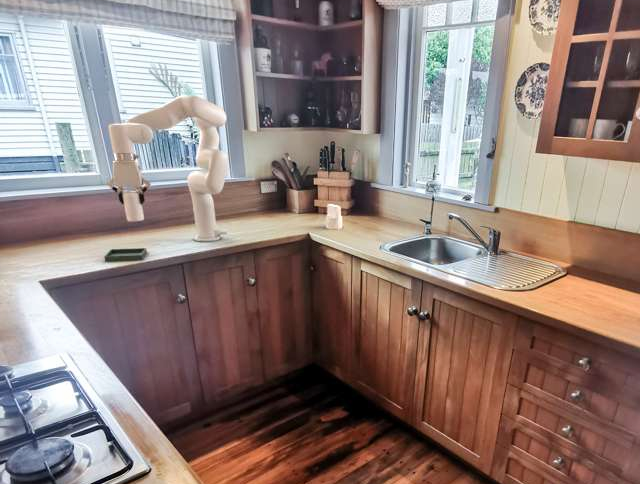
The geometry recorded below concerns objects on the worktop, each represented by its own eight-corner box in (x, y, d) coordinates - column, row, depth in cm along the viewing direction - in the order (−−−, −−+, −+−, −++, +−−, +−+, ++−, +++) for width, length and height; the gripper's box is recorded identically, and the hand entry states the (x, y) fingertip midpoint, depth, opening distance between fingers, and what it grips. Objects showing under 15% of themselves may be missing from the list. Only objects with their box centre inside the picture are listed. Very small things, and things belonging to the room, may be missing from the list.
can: (137, 222, 191) (132, 192, 186) (123, 221, 192) (118, 191, 187) (147, 219, 197) (142, 190, 192) (133, 218, 198) (128, 189, 193)
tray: (146, 252, 204) (146, 248, 203) (142, 259, 194) (141, 255, 193) (111, 254, 200) (110, 249, 199) (105, 261, 191) (104, 256, 190)
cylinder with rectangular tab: (322, 226, 259) (322, 204, 254) (335, 224, 264) (335, 203, 259) (332, 230, 253) (332, 207, 247) (345, 227, 258) (345, 206, 253)
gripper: (149, 157, 190) (156, 201, 197) (102, 156, 185) (111, 202, 193) (146, 158, 183) (154, 205, 191) (97, 158, 179) (107, 205, 186)
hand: (132, 203), depth 192 cm, fingers closed on can, 6 cm apart
